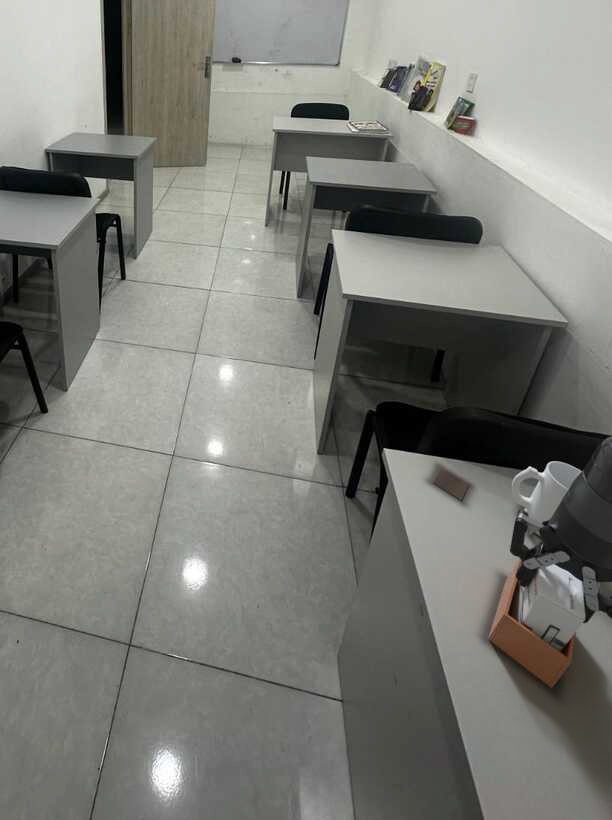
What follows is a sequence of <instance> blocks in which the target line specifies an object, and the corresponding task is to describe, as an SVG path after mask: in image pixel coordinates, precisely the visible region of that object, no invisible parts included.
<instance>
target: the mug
mask: <svg viewBox="0 0 612 820" xmlns="http://www.w3.org/2000/svg"><path fill="white" fill-rule="evenodd" d="M582 471H583V470H580V469H579V468H576V467H575V466H573V465H571V464H568V463H565V462H562V461H554V460H553V461H549V462H548V463H547V464H546V466H545V469H544V471H543V472H539V471H538V469H537V468H534V467H532V466H528V467H527V468H526V469H524V470H522V471H520V472H519V473H517V474H516V475H515V476H514V478H513V480H512V482H511V490H512V497H513V501H514V503H515V504H518V505H520V506H522V507H524V509H523V510H524V511H526V512H527V513H528V515H529V518H532V519H534V520H536V521H538V522H541V523H542V522H544V521H547V520H549V519H551V517H552V516H553V514H554V512H555V511H556V509H557V507H558V506H559V504H560V502H561V501H562V499H563V497H564V496H565V494H566V492H567V491H568V489H569V488H570V486H571V484H572V483H573V481H574V480H575V478H576V477H577V476H578V475H579V474H580V473H581V472H582ZM526 479H535V480H537V481H538V482H537V484H536V486H535V487H534V490H533V492H532V493H531V496H530V497H527V496H524V495H522V493H521V492H520V486H521V484H522V482H524V480H526ZM534 533H535V534H537V535H538V536H540V534H539V532H534ZM540 537H541V536H540Z"/></svg>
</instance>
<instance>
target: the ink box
mask: <svg viewBox="0 0 612 820" xmlns="http://www.w3.org/2000/svg"><path fill="white" fill-rule="evenodd" d="M518 583H519V580H517V583H516V586H515V590H514V593H513V597H512V600H511V604H510V607H509V611H508V615H509V616H511V617H512V618H513V619H515V620H516V621H518V622H519V623H520V624H522V625H523V626H525V627H526V628H527V629H529V630H530V631H531V632H533V633H534V634H536V635H537V636H538V637H540V638H541V639H543V640H544V641H545V642H547V643H548V644H549V645H551V646H552V647H554V648H555V649H556V650H558V651H559V652H560V651H561V650H562V649H563V648H564V646H565V645H566V644H567V642H568V641H569V640H570V639H571V637H572V636H573V635H574V634H575V632H576V633H577V631H578V630H579V628H580V627H581V626H582V624H584V623H583V622H584V621H585V608H584V597H583V593H584V584H583V582H582V581H580V580H579V579H577V578H575V577H574V576H573V575H572V574H571V573H569V572H568V571H566V570H564V569H562V568H560V567H558V566H556V565H555V564H553V565H551V566H548V567H543V566H541V567H538V568H535V571H534V574H533V575H532V577H531V578H530V580H529V582H528V583H527V585H526V586H525V588H524V587H522V586H521V585H519V584H518Z"/></svg>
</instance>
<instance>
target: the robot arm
mask: <svg viewBox="0 0 612 820" xmlns="http://www.w3.org/2000/svg"><path fill="white" fill-rule="evenodd" d="M581 471H582V472H581V473H580V474H579V475H578V476H577V477H576V478H575V480H574V481H573V483H572V484H571V486H570V488H569V489H568V491H567V492H566V494H565V496H564V497H563V499H562V501H561V502H560V504H559V506H558V507H557V509H556V511H555V512H554V514H553V516H552V517H551V519H549V520H547V521H544V522H542V523H541V522H538V521H536V520H534V519H532V518H529V515H528V513H527V512H526V511H524V510H525V509H518V510H517V514H516V516H515V520H514V524H513V530H512V535H511V541H510V547H509V552H510V553H511V555H513V556H514V557H516V558H517V557H518V559H519V558H520V559H521V560H522V561H521V563H520V564H519V566H518V568H517V571H516V578H517V579H518V580H519V583H518V584H519V585H521V586H522V587H524V588H525V586H526V585H527V583H528V582H529V580H530V578H531V577H532V575H533V574H534V571H535V568H538V567H541V566H543V567H548V566H551V565H553V564H555V565H556V566H558V567H560V568H562V569H564V570H566V571H568V572H569V573H571V574H572V575H573V576H574V577H575V578H577V579H579V580H580V581H582V583H583V597H584V608H585V621H584V622H583V623H582V624H588V622H589V621H590V620H591V619H592V617H594V615H595V613H596V612H603V613H605V614H606V616H608V618H610V619H612V594H610V595H608V596H606V595H604V594H602V593H601V585H600V583H612V436H609V437H606V438H605V439H603V440H602V441H601V442H600V443H599V444H598V445H597V447H596V448H595V450H594V451H593V454H592V455H591V457H590V458H589V459H588V462H587V463H586V465H585V467H584V468H583V469H582V470H581ZM535 532H539V534H540V538H541V541H540V542H539V543H538V544H537V545H535V546H532V547H528V545H526V544H525V540H526V537H529V536H532V535H533V534H534V533H535Z"/></svg>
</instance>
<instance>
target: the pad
mask: <svg viewBox="0 0 612 820" xmlns="http://www.w3.org/2000/svg"><path fill="white" fill-rule="evenodd" d="M432 484H434V485H435V486H436V487H438V488H440V489H442V490H443V491H444V492H446V493H448V494H449V495H451V496H453V497H455V498H456V500H459V501H460V502H462V501H463V498H464V497H465V494H466V492H467V490H468V487H470V484H469V483H468V482H466V481H465V480H463V479H461V478H459V477H458V476H456V475H455V474H453V473H451V472H450V471H448V470H446V469H445V468H443V467H440V468H439V470H438V471H437V474H436V475H435V477H434V479H433V481H432Z"/></svg>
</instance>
